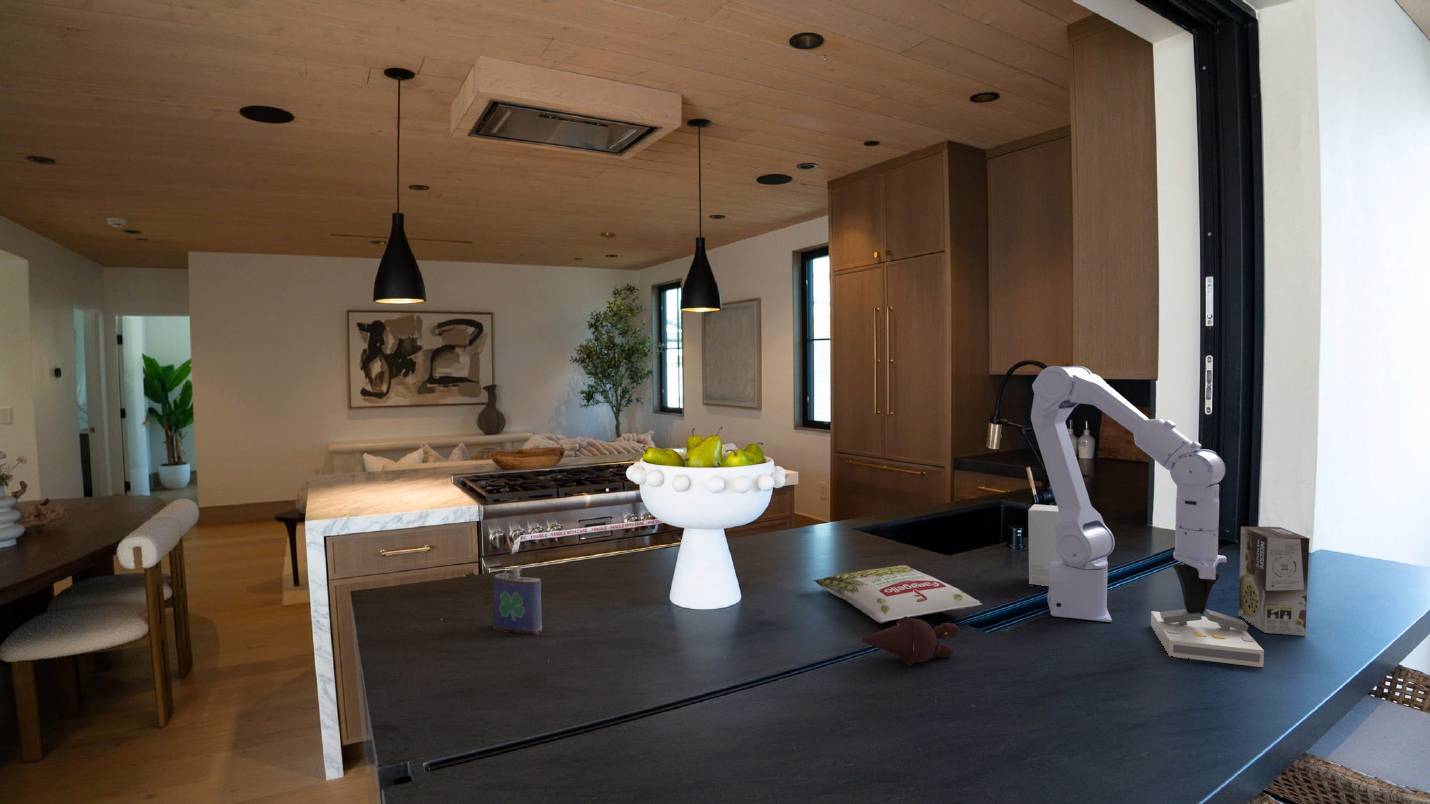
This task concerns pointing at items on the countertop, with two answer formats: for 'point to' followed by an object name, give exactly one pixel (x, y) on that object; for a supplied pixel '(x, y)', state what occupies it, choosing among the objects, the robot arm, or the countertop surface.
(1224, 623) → the rocker right
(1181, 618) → the block
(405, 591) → the countertop surface
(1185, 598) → the robot arm
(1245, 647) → the console
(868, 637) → the icecream
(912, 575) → the frozen beans
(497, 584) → the flask
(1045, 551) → the skincare box
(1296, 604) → the coffee box
